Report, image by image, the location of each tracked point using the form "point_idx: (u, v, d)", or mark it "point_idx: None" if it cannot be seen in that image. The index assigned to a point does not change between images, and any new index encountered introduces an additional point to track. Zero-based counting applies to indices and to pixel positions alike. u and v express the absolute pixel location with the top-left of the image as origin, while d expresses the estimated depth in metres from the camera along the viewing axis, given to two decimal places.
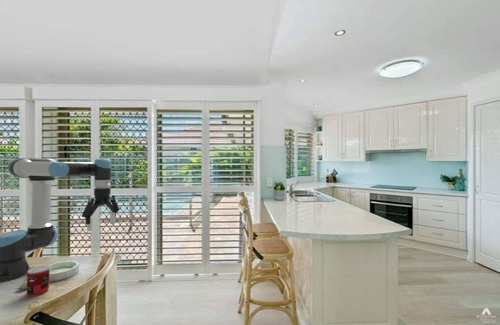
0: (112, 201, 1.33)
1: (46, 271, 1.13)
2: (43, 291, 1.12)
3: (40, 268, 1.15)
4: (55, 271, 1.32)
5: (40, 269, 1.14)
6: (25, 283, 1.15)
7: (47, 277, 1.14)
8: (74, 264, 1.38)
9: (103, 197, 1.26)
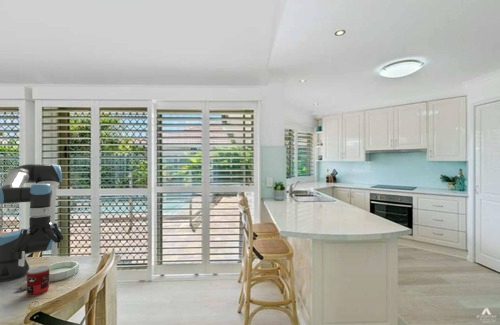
0: (54, 230, 1.19)
1: (46, 271, 1.13)
2: (43, 291, 1.12)
3: (40, 268, 1.15)
4: (55, 271, 1.32)
5: (40, 269, 1.14)
6: (25, 283, 1.15)
7: (47, 277, 1.14)
8: (74, 264, 1.38)
9: (41, 227, 1.13)
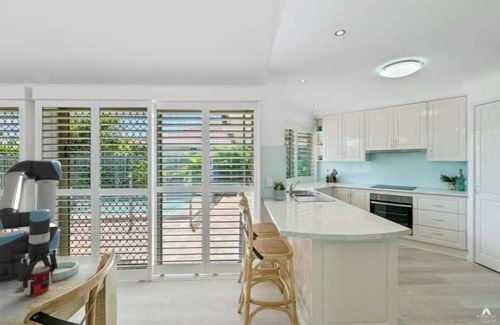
0: (51, 256, 1.18)
1: (46, 271, 1.13)
2: (43, 291, 1.12)
3: (40, 268, 1.15)
4: (55, 271, 1.32)
5: (40, 269, 1.14)
6: None
7: (47, 277, 1.14)
8: (74, 264, 1.38)
9: (40, 253, 1.13)
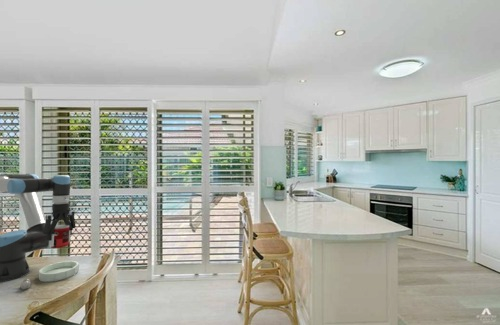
0: (70, 217, 1.36)
1: (67, 228, 1.31)
2: (64, 245, 1.30)
3: (61, 226, 1.33)
4: (55, 271, 1.32)
5: (61, 226, 1.32)
6: (25, 283, 1.15)
7: (67, 233, 1.32)
8: (74, 264, 1.38)
9: (61, 212, 1.31)
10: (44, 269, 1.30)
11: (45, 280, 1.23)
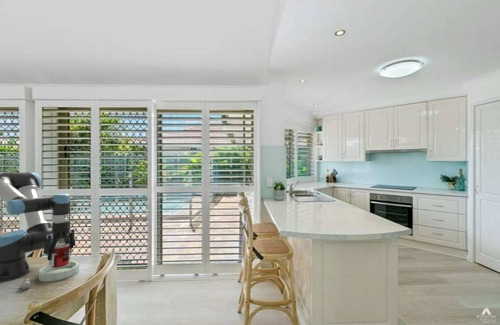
0: (70, 235, 1.37)
1: (67, 247, 1.31)
2: (64, 264, 1.30)
3: (61, 244, 1.33)
4: (55, 271, 1.32)
5: (61, 245, 1.32)
6: (25, 283, 1.15)
7: (67, 252, 1.32)
8: (74, 264, 1.38)
9: (61, 231, 1.31)
10: (44, 269, 1.30)
11: (45, 280, 1.23)
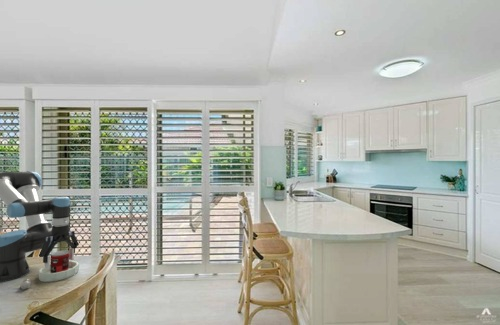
0: (71, 237, 1.37)
1: (66, 254, 1.31)
2: None
3: (61, 252, 1.33)
4: None
5: (61, 253, 1.32)
6: (25, 283, 1.15)
7: (67, 259, 1.32)
8: (74, 264, 1.38)
9: (61, 234, 1.31)
10: (44, 269, 1.30)
11: (45, 280, 1.23)
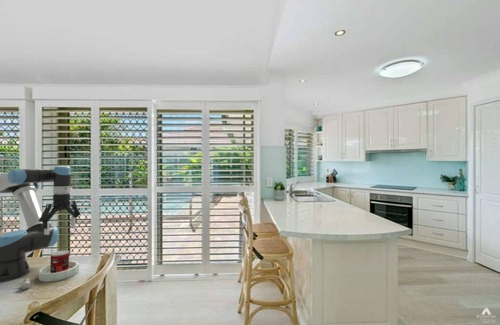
0: (73, 206, 1.38)
1: (66, 254, 1.31)
2: None
3: (61, 252, 1.33)
4: None
5: (61, 253, 1.32)
6: (25, 283, 1.15)
7: (67, 259, 1.32)
8: (74, 264, 1.38)
9: (62, 202, 1.32)
10: (44, 269, 1.30)
11: (45, 280, 1.23)
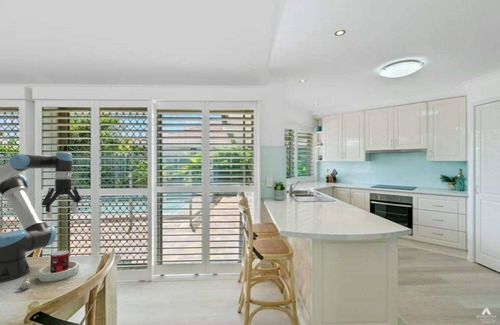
0: (74, 191, 1.43)
1: (66, 254, 1.31)
2: None
3: (61, 252, 1.33)
4: None
5: (61, 253, 1.32)
6: (25, 283, 1.15)
7: (67, 259, 1.32)
8: (74, 264, 1.38)
9: (64, 187, 1.37)
10: (44, 269, 1.30)
11: (45, 280, 1.23)
